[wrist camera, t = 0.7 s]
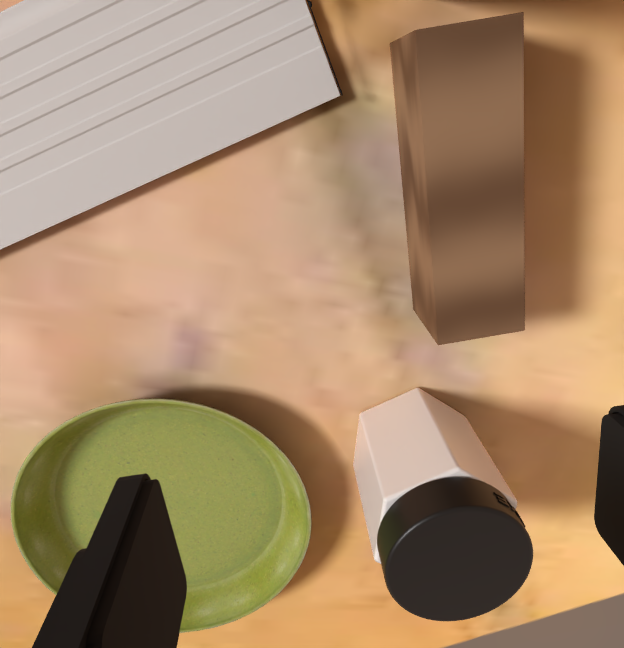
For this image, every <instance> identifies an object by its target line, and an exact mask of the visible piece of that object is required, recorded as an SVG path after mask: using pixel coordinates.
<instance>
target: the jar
mask: <svg viewBox="0 0 624 648" xmlns="http://www.w3.org/2000/svg"><path fill="white" fill-rule="evenodd" d="M353 467H354V471H355V476H356V480H357V484H358V489H359V493H360V498H361V502H362V507H363V511H364V516H365V520H366V525H367V529H368V534H369V538H370V543H371V547H372V552H373V556H374V559H375V561H376V562H378V563H380V564H381V565H382V569H383V574H384V578H385V582H386V585H387V588H388V590H389V592H390V594H391V596H392V597H393V598H394V600H395V601H396V602H397V603H398V604H399V605H400V606H401V607H403V608H404V609H405V610H407V611H409V612H410V613H412V614H414V615H417V616H419V617H422V618H426V619H430V620H436V621H458V620H464V619H469V618H473V617H476V616H480V615H482V614H485V613H487V612H489V611H491V610H493V609H495V608H497V607H499V606H500V605H502V604H503V603H505V602H506V601H507V600H508V599H510V598H511V597H512V596H513V595H514V594H515V593H516V592H517V591H518V590H519V589H520V587H521V586H522V585H523V583H524V582H525V580H526V578H527V576H528V574H529V572H530V569H531V565H532V560H533V547H532V542H531V539H530V536H529V534H528V532H527V531H526V529H525V525H524V523H523V521H522V519H521V518H520V516H519V514H518V513H517V511H516V507H517V499H516V498H515V496H514V495H513V493H512V491H511V490H510V488H509V486H508V485H507V483H506V482H505V480H504V478H503V477H502V475H501V474H500V472H499V470H498V469H497V467H496V465H495V464H494V462H493V461H492V459H491V457H490V456H489V454H488V453H487V451H486V449H485V448H484V446H483V444H482V443H481V441H480V440H479V438H478V436H477V435H476V433H475V431H474V430H473V428H472V427H471V425H470V423H469V422H468V420H467V419H466V417H465V416H464V415H462V414H461V413H459V412H457V411H456V410H454V409H453V408H451V407H449V406H448V405H446V404H444V403H443V402H441V401H439V400H438V399H436V398H435V397H433V396H431V395H430V394H428V393H426V392H425V391H423V390H422V389H420V388H415V389H413V390H410V391H408V392H406V393H404V394H402V395H399V396H397V397H395V398H393V399H390V400H388V401H386V402H384V403H381V404H379V405H377V406H375V407H372V408H370V409H368V410H366V411H363V412H361V413H360V415H359V422H358V430H357V438H356V446H355V454H354V462H353Z"/></svg>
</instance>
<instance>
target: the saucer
mask: <svg viewBox="0 0 624 648" xmlns="http://www.w3.org/2000/svg"><path fill="white" fill-rule="evenodd" d="M145 473H146V474H148V475H149V477H150V479H151V480H153V479H157V480H158V481H159V482H160V485H161V489H162V492H163V496H164V500H165V503H166V507H167V510H168V514H169V518H170V521H171V525H172V528H173V532H174V535H175V539H176V543H177V546H178V550H179V553H180V557H181V561H182V564H183V568H184V571H185V575H186V581H187V594H186V600H185V605H184V611H183V616H182V621H181V626H180V632H179V633H182V632H191V631H199V630H204V629H210V628H214V627H218V626H221V625H224V624H227V623H230V622H233V621H236V620H238V619H240V618H242V617H244V616H247V615H249V614H250V613H252V612H254V611H256V610H257V609H259V608H261V607H262V606H264V605H265V604H266V603H268V602H269V601H270V600H271V599H273V598H274V597H275V596H276V595H277V594H279V593H280V592H281V591H282V590H283V588H284V587H285V586H286V585H287V584H288V583H289V582H290V580H291V579H292V578H293V576H294V575H295V573H296V572H297V570H298V568H299V567H300V565H301V563H302V561H303V559H304V556H305V554H306V551H307V548H308V544H309V540H310V534H311V510H310V504H309V499H308V496H307V492H306V489H305V486H304V484H303V482H302V480H301V478H300V476H299V474H298V472H297V471H296V469H295V467H294V466H293V464H292V463H291V462H290V460H289V459H288V458H287V457H286V455H285V454H284V453H283V452H282V451H281V450H280V449H279V448H278V447H277V446H276V445H275V444H274V443H273V442H272V441H271V440H270V439H269V438H267V437H266V436H265V435H264V434H262V433H261V432H260V431H258V430H257V429H255V428H254V427H252V426H251V425H249V424H248V423H246V422H244V421H243V420H241V419H239V418H237V417H235V416H233V415H230V414H228V413H226V412H224V411H221V410H218V409H215V408H212V407H209V406H206V405H202V404H198V403H194V402H189V401H182V400H174V399H160V398H155V399H135V400H128V401H122V402H116V403H112V404H108V405H104V406H101V407H98V408H94V409H91V410H89V411H87V412H84V413H82V414H80V415H78V416H75V417H73V418H72V419H70V420H68V421H66V422H64V423H63V424H61V425H60V426H58V427H57V428H55V429H54V430H53V431H51V432H50V433H49V434H48V435H47V436H45V437H44V438H43V439H42V440H41V441H40V442H39V443H38V444H37V445H36V446H35V448H34V449H33V450H32V451H31V453H30V454H29V455H28V456H27V458H26V460H25V461H24V463H23V465H22V467H21V468H20V470H19V472H18V475H17V477H16V480H15V484H14V487H13V492H12V498H11V522H12V527H13V532H14V536H15V540H16V542H17V545H18V547H19V549H20V552H21V554H22V556H23V557H24V559H25V561H26V562H27V564H28V566H29V567H30V569H31V570H32V571H33V573H34V574H35V575H36V576H37V578H38V579H39V580H40V581H41V582H42V583H43V584H44V585H45V586H46V587H47V588H48V589H49V590H50V591H52V592H53V593H54V594H55V595H57V592H58V590H59V588H60V586H61V584H62V582H63V580H64V577H65V575H66V573H67V571H68V569H69V567H70V564H71V562H72V560H73V558H74V556H75V555H76V553H77V552H78V551H79V550H81V549H85V548H87V546H88V544H89V541H90V539H91V537H92V535H93V532H94V530H95V528H96V526H97V523H98V521H99V519H100V517H101V514H102V512H103V510H104V508H105V505H106V503H107V501H108V499H109V496H110V494H111V492H112V489H113V487H114V485H115V483H116V481H117V479H118V478H119V477H124V476H131V475H138V474H145Z"/></svg>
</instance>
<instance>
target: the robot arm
mask: <svg viewBox="0 0 624 648" xmlns="http://www.w3.org/2000/svg"><path fill="white" fill-rule="evenodd" d="M594 520H595V525H596V528H597V530H598V532H599V534H600V535H601V537H602V538H603V539H604V541H605V542H606V543H607V545H608V546H609V547H610V549H611V550H612V551H613V552H614V554H615V555H616V556H617V558H618V559H619V560H620V562H621V563H622V564H623V565H624V405H621V406H614V407H612V408H611V409H610V411H609V414H608V415H605V416H604V417H603V418H602V425H601V437H600V450H599V463H598V475H597V488H596V501H595V513H594ZM186 594H187V581H186V575H185V571H184V568H183V564H182V561H181V557H180V553H179V550H178V546H177V543H176V539H175V535H174V532H173V528H172V525H171V521H170V518H169V514H168V510H167V507H166V503H165V500H164V496H163V492H162V489H161V485H160V482H159V481H158V480H157V479H153V480H151V479H150V477H149V475H148V474H146V473H145V474H138V475H131V476H124V477H119V478H118V479H117V481H116V483H115V485H114V487H113V489H112V492H111V494H110V496H109V499H108V501H107V503H106V505H105V508H104V510H103V512H102V514H101V517H100V519H99V521H98V523H97V526H96V528H95V530H94V532H93V535H92V537H91V539H90V541H89V544H88V546H87V548H85V549H81V550H79V551H78V552H77V553H76V555H75V556H74V558H73V560H72V562H71V564H70V567H69V569H68V571H67V573H66V575H65V577H64V580H63V582H62V584H61V586H60V588H59V590H58V592H57V595H56V597H55V599H54V601H53V603H52V605H51V608H50V610H49V612H48V614H47V616H46V618H45V621H44V623H43V625H42V627H41V629H40V631H39V634H38V636H37V638H36V640H35V642H34V644H33V647H32V648H176V647H177V642H178V637H179V632H180V626H181V621H182V616H183V611H184V605H185V600H186Z"/></svg>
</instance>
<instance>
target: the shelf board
mask: <svg viewBox="0 0 624 648" xmlns="http://www.w3.org/2000/svg"><path fill="white" fill-rule="evenodd" d="M390 51H391V62H392V73H393V84H394V96H395V107H396V118H397V130H398V141H399V152H400V164H401V175H402V186H403V197H404V209H405V220H406V231H407V243H408V254H409V265H410V276H411V288H412V299H413V310H414V311H415V312H416V314H417V315H418V317H419V318H420V320H421V321H422V323H423V324H424V325H425V327H426V328H427V330H428V331H429V333H430V334H431V336H432V337H433V338H434V340H435V341H436V343H437V344H438V345H442V344H448V343H454V342H459V341H465V340H471V339H477V338H483V337H489V336H495V335H501V334H506V333H512V332H518V331H524V330H525V285H524V22H523V12H521V13H515V14H509V15H503V16H497V17H491V18H485V19H479V20H473V21H467V22H461V23H455V24H449V25H443V26H437V27H431V28H425V29H419V30H415V31H413V32H411V33H409V34H407V35H405V36H403V37H401V38H399V39H397V40H396V41H394V42H392V43H390Z"/></svg>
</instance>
